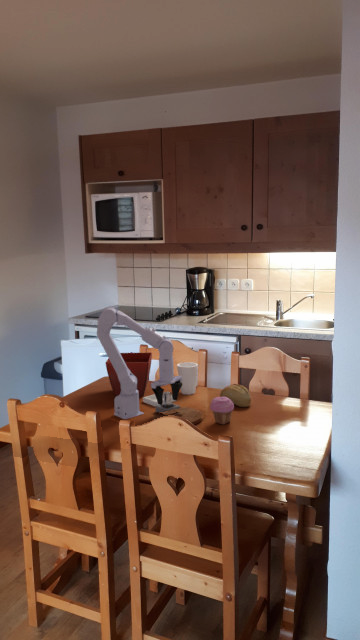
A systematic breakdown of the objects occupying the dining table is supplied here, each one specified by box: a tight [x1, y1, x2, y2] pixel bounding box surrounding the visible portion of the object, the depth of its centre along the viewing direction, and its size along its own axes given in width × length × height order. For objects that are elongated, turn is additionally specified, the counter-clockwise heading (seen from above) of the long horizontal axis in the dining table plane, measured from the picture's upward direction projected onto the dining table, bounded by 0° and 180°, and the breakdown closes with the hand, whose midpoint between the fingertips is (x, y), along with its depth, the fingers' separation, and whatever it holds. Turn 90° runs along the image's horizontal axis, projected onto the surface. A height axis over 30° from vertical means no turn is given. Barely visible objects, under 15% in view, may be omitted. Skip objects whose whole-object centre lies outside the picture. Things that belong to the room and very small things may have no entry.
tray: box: [142, 391, 177, 407], centre depth 220 cm, size 11×9×2 cm
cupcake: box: [210, 396, 235, 425], centre depth 193 cm, size 9×9×10 cm
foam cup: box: [176, 361, 199, 396], centre depth 232 cm, size 10×9×13 cm
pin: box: [163, 391, 172, 408], centre depth 206 cm, size 3×3×8 cm
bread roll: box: [219, 383, 252, 408], centre depth 215 cm, size 10×15×8 cm, turn 44°
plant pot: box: [105, 352, 153, 398], centre depth 233 cm, size 19×19×17 cm
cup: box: [154, 402, 181, 413], centre depth 206 cm, size 7×7×3 cm
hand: (167, 402), depth 206 cm, fingers open, 7 cm apart
